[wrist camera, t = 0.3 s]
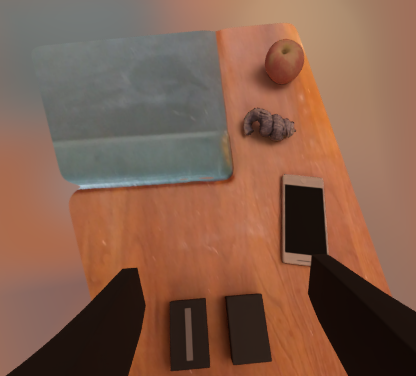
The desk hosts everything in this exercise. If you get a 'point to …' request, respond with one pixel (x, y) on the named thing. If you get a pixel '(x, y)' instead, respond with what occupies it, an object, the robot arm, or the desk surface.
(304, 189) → the smartphone
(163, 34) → the desk surface
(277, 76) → the apple
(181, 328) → the pad
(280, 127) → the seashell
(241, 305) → the pad
